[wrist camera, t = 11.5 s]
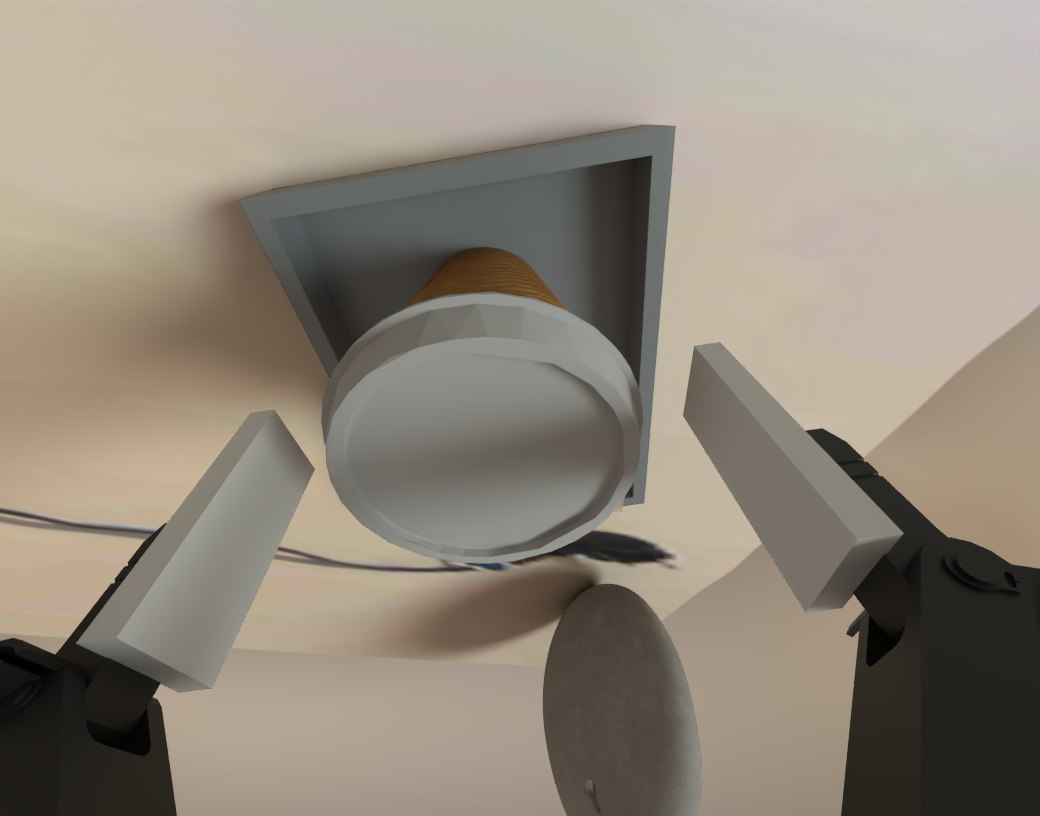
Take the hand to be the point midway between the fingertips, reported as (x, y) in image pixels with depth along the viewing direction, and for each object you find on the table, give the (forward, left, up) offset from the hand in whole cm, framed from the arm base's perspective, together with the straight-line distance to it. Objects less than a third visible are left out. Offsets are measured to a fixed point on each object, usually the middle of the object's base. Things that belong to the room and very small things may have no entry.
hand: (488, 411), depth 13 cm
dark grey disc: (+33, +4, -10) cm, 35 cm away
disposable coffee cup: (0, 0, -10) cm, 10 cm away
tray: (+4, 0, -10) cm, 11 cm away
